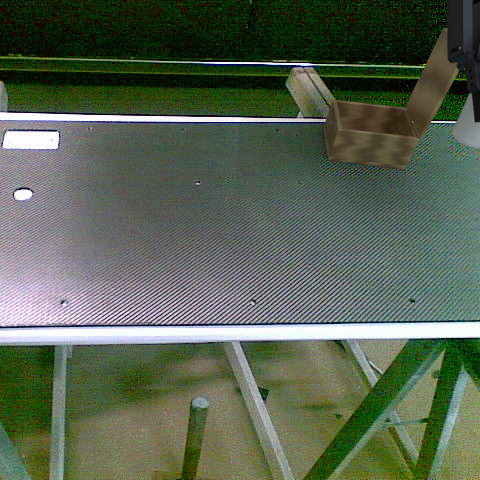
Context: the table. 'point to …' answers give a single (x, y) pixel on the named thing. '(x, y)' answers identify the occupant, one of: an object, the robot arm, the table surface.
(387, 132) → the chest
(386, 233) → the table surface
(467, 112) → the drinking glass
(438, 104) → the chest lid
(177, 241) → the table surface
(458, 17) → the robot arm
